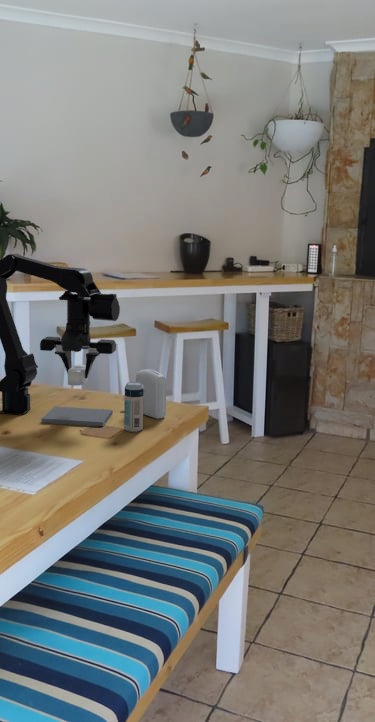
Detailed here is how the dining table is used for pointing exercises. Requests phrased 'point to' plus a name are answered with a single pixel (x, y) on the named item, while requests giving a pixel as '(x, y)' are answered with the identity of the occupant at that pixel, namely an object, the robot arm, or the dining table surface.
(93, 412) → the slate board
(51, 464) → the dining table surface
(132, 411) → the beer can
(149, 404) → the photo printer
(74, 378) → the grey rounded piece
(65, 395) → the dining table surface
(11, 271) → the robot arm
